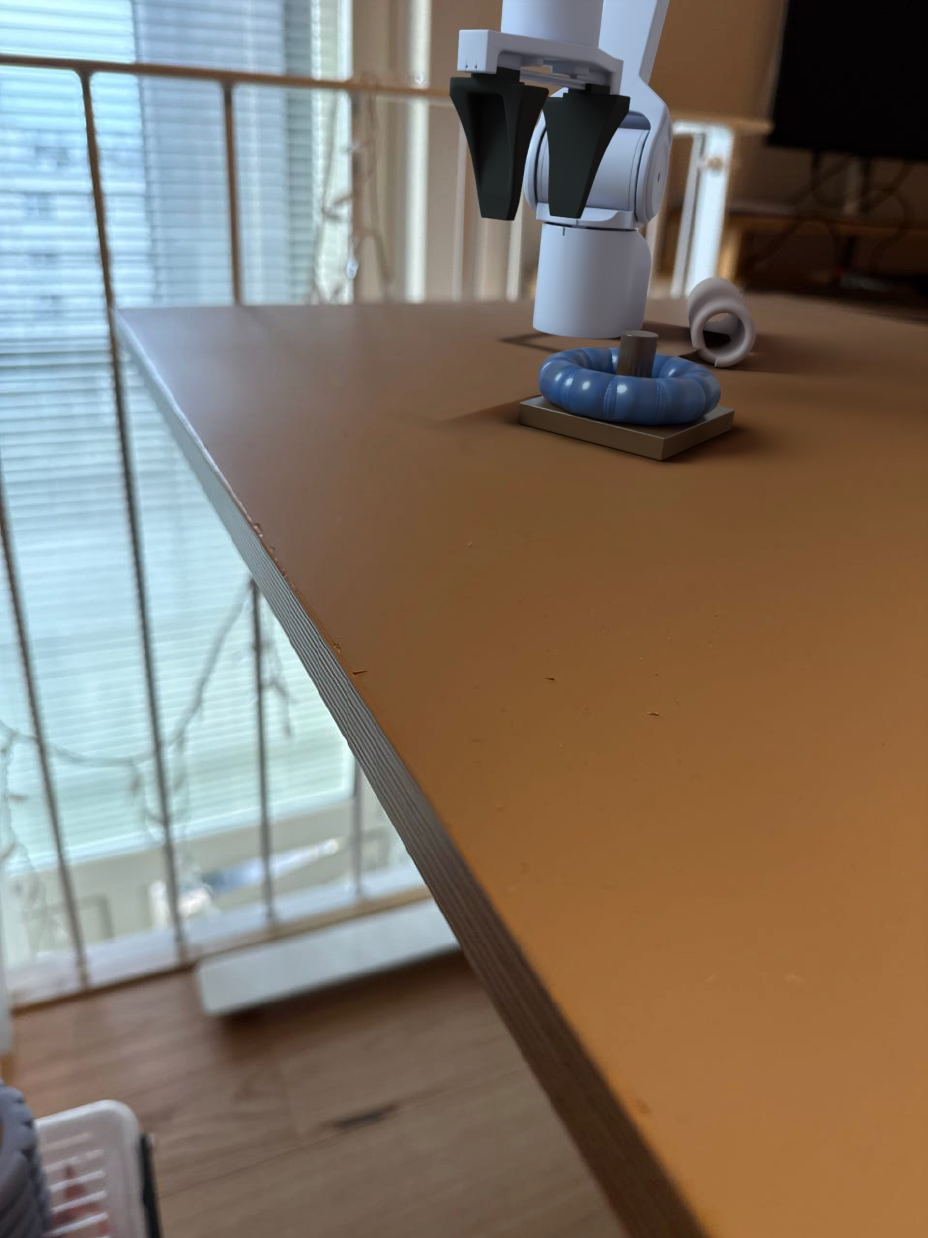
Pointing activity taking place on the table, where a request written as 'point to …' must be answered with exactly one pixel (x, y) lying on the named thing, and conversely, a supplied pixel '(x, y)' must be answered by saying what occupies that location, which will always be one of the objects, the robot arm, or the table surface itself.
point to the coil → (738, 323)
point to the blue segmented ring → (628, 388)
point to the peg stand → (624, 436)
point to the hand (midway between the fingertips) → (532, 218)
